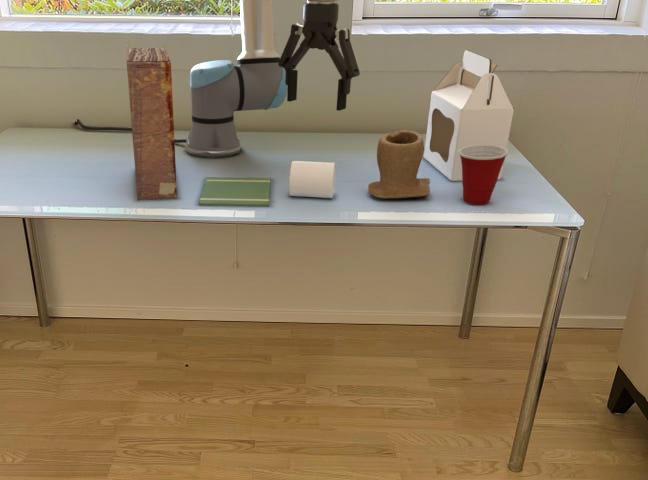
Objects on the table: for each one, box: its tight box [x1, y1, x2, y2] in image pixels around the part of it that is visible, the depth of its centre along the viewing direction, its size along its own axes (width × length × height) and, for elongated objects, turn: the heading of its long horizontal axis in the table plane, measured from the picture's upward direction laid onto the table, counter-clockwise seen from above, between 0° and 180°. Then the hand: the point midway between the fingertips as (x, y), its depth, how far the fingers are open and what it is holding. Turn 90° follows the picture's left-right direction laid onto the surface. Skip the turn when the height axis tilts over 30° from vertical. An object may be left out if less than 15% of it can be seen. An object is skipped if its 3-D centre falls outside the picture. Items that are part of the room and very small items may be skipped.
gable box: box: [423, 49, 515, 182], centre depth 184 cm, size 22×13×28 cm, turn 7°
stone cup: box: [367, 129, 431, 199], centre depth 167 cm, size 15×12×15 cm
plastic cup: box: [458, 145, 509, 206], centre depth 165 cm, size 11×11×12 cm
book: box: [126, 44, 178, 201], centre depth 171 cm, size 25×9×30 cm, turn 9°
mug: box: [288, 160, 337, 199], centre depth 170 cm, size 12×10×8 cm
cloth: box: [198, 176, 272, 207], centre depth 173 cm, size 16×20×1 cm
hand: (315, 105), depth 166 cm, fingers open, 13 cm apart
